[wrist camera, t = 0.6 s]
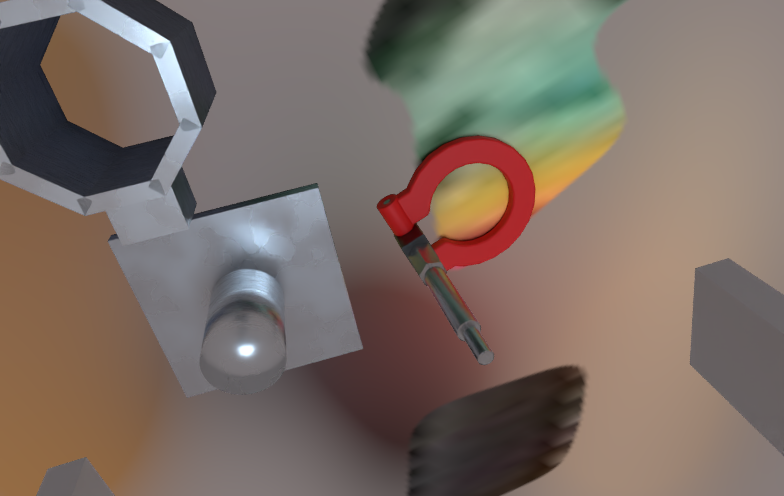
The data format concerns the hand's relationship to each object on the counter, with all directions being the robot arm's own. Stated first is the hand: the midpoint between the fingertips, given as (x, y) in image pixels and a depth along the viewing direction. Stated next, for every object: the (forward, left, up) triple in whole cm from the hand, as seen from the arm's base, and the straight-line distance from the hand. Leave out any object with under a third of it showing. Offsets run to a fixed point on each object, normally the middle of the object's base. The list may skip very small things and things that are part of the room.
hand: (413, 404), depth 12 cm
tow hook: (+7, +7, -23) cm, 24 cm away
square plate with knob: (+9, -7, -22) cm, 25 cm away
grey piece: (-4, -9, -22) cm, 24 cm away
